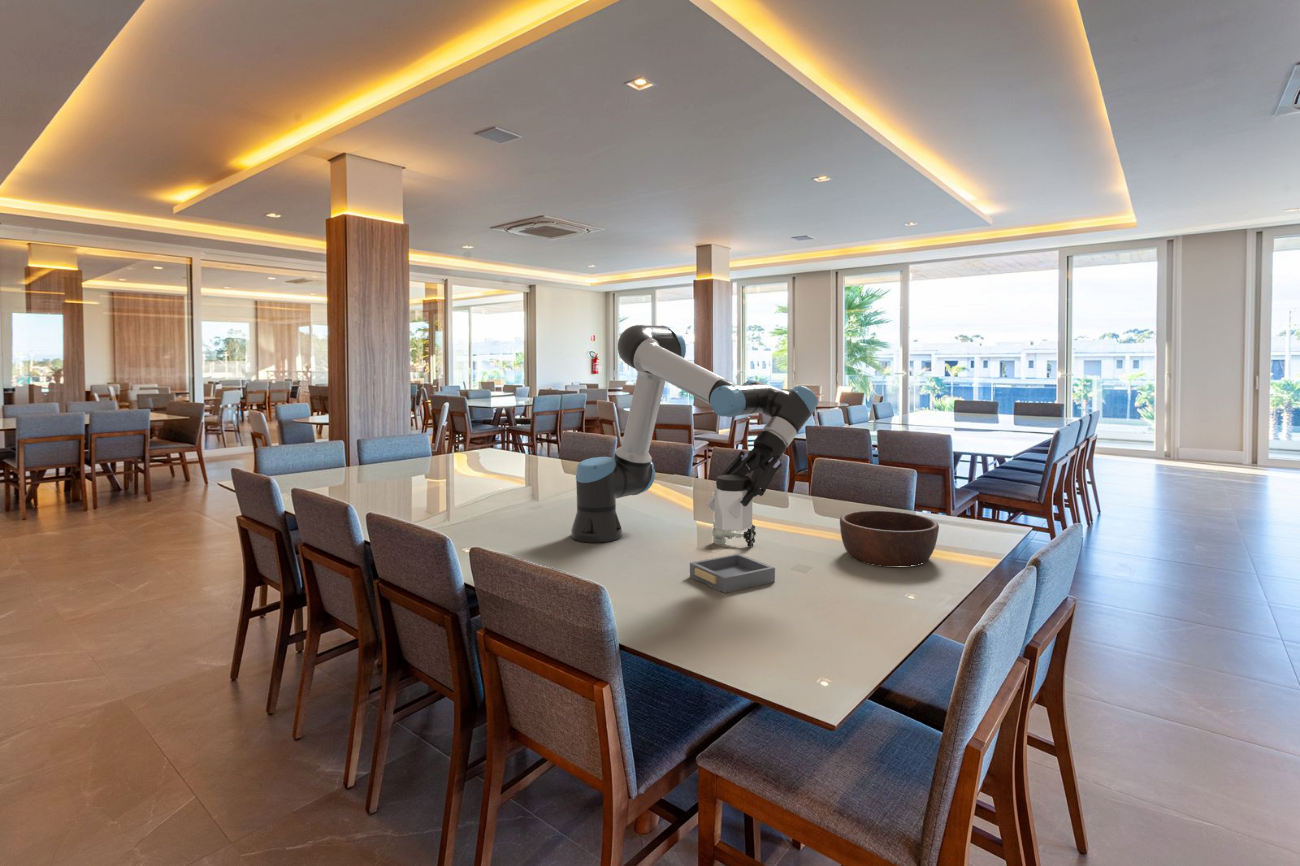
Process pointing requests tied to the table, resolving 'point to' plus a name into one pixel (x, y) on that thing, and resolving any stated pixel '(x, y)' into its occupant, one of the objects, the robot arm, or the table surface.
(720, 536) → the valve
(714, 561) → the tray
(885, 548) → the wooden bowl
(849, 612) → the table surface
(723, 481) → the jar
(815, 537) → the table surface
